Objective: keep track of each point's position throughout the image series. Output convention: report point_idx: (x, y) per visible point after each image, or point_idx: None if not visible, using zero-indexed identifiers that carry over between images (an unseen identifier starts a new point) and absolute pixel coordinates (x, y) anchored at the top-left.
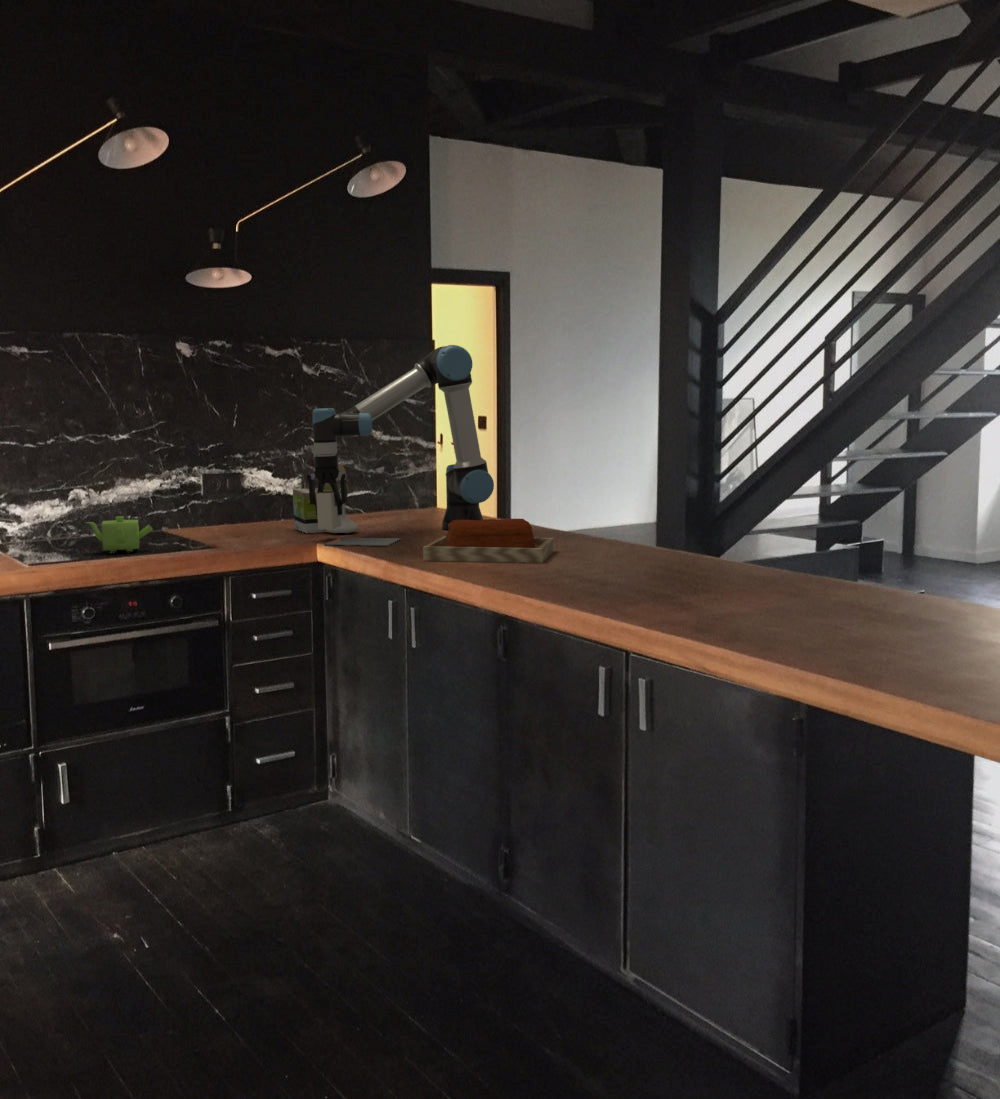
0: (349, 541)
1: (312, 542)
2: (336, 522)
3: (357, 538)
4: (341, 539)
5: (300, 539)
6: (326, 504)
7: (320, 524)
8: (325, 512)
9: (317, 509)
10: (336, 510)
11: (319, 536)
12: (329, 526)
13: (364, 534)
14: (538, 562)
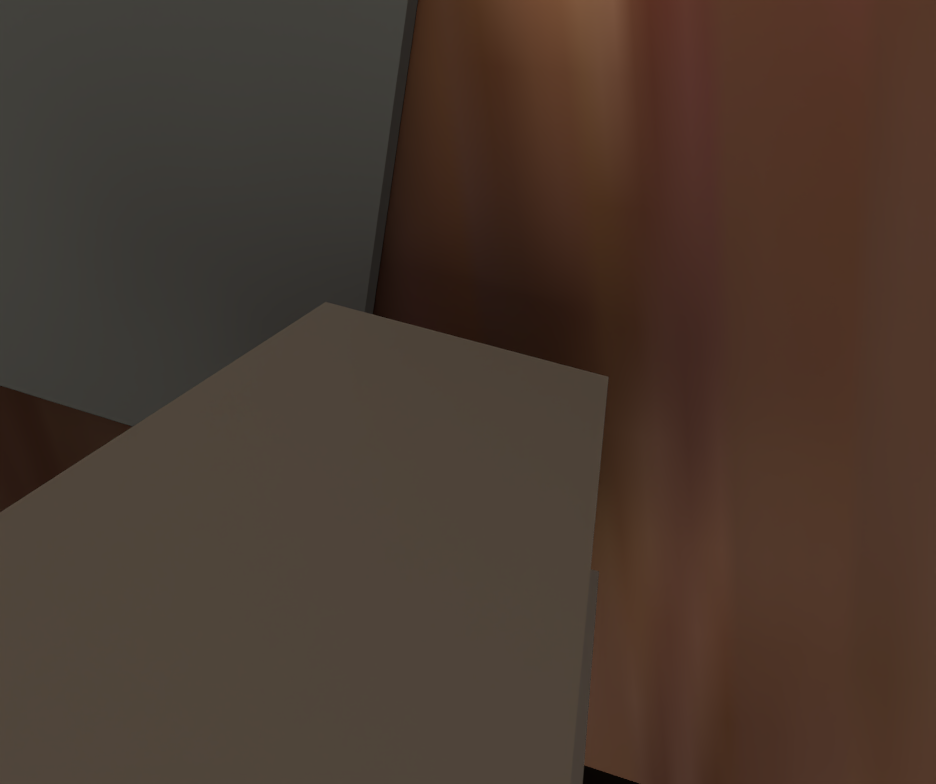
0: (115, 42)
1: (714, 220)
2: None
3: (111, 361)
4: (282, 293)
5: (911, 587)
6: (64, 682)
7: (545, 403)
8: (305, 501)
9: (564, 661)
10: None
11: (643, 776)
12: (362, 335)
13: None
14: None
